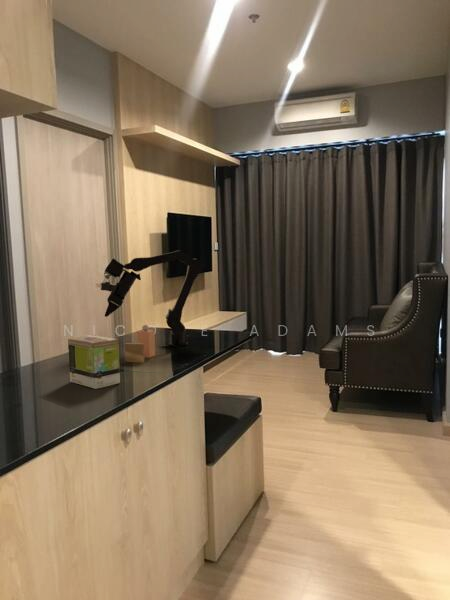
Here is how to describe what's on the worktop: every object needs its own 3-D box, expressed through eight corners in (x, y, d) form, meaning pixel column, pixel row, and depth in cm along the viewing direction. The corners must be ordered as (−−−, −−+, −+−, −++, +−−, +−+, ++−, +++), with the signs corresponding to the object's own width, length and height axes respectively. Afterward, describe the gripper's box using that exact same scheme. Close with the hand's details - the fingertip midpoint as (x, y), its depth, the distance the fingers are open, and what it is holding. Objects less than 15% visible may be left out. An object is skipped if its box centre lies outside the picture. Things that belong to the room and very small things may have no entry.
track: (146, 355, 207) (145, 335, 206) (162, 356, 205) (161, 336, 204) (125, 365, 192) (124, 343, 191) (142, 366, 189) (141, 344, 188)
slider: (143, 354, 203) (142, 323, 201) (155, 355, 201) (153, 324, 200) (138, 357, 198) (136, 325, 197) (149, 357, 197) (148, 326, 195)
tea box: (121, 383, 167) (119, 338, 165) (94, 390, 160) (92, 343, 158) (95, 376, 177) (93, 333, 176) (69, 382, 170) (66, 337, 168)
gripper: (109, 272, 230) (91, 302, 230) (107, 275, 211) (87, 307, 211) (131, 285, 232) (113, 315, 232) (131, 289, 213) (111, 321, 213)
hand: (106, 314), depth 222 cm, fingers open, 9 cm apart
